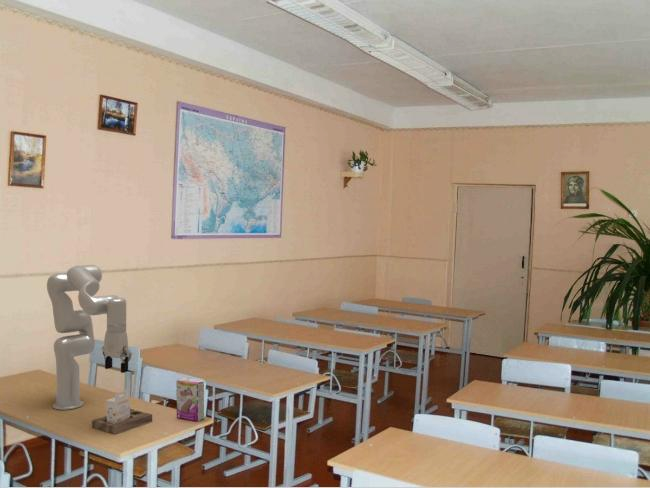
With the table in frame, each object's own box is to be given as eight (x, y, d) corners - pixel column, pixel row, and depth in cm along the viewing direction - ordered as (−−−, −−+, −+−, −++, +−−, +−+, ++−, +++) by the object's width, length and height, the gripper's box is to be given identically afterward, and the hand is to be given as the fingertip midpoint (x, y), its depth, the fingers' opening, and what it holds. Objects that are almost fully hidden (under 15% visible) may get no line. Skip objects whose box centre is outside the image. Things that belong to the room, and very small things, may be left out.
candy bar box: (175, 418, 271) (175, 380, 270) (183, 415, 275) (183, 377, 275) (197, 422, 266) (197, 383, 265) (204, 418, 271) (204, 380, 270)
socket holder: (92, 427, 259) (92, 420, 259) (129, 415, 275) (129, 408, 274) (114, 434, 251) (114, 426, 251) (152, 421, 267) (152, 414, 267)
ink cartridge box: (121, 422, 265) (121, 387, 265) (130, 424, 263) (130, 388, 263) (106, 428, 258) (105, 392, 257) (115, 430, 256) (115, 394, 255)
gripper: (95, 327, 260) (95, 368, 262) (123, 332, 251) (123, 375, 252) (110, 324, 267) (110, 365, 268) (138, 329, 257) (138, 371, 258)
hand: (116, 370), depth 260 cm, fingers open, 9 cm apart
